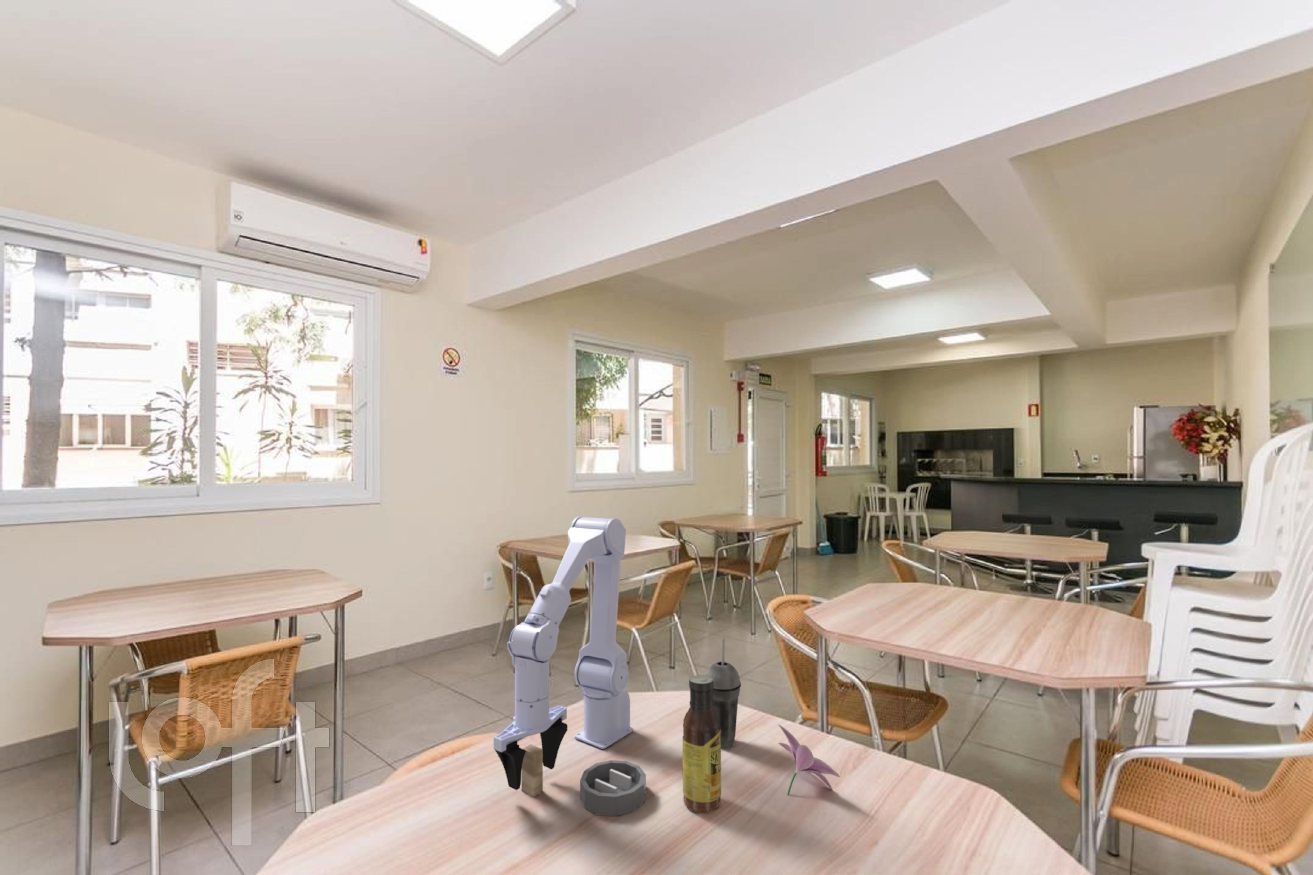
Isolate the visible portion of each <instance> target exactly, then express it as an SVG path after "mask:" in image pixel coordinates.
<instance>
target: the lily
mask: <svg viewBox="0 0 1313 875" xmlns="http://www.w3.org/2000/svg"><path fill="white" fill-rule="evenodd" d="M778 727H779V728H780V729H781V731H782V732H783V734H784V735H785V737H786V738H787V741H788V744H787V743H784V742H778V744H779V745H780V746H781V747H783V748H784V749H785V750H786V751H788V752H789V753H790V754H792V756H793V759H794V763H795V772H794V773H793V775H792V778H791V781H790V784H789V788H788V791H787V796H789V795H790V793H791V789H792V787H793V782H794V780H795V778H796V776H797V774H798V773H799V772H805V773H806V772H807V773H811V774H814V775H815V776H817V777H818V778H819V779H820V780H821V781H822V782H823V783H824V784H826V786H827V787H828V788H829V789H830V790H831V791H833V788H832V785H831V783H830V782H829V780H828V779H827V777H826V776H825V775H832V776H834V777H835V776H836V777H837V778H841V776H840V775H839V773H838V772H836V770H835V769H834V768H832V767H831V766H830V765H829V764H827V763H826V761H825V762H824V761H823V760H821V759H820V758H817V757H815V756H814V755H813V752H812V751H811V749H810V748H809V747H808V746H807V745H805V744H800V743H799V740H798V739H797V738H796V737H795V736H794V735H793V734H792V733H791V732H789V731H788V729H786V728H785V727H784V726H782V725H781V724H778Z"/></svg>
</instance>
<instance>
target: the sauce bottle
mask: <svg viewBox="0 0 1313 875" xmlns="http://www.w3.org/2000/svg"><path fill="white" fill-rule="evenodd" d="M688 688H689V697H690V698H689V699H690V700H689V708H688V710H687V712H686V713H685V715H684V718H683V723H682V729H683V730H682V732H683V736H682V793H683V794H682V795H683V803H684V805H685V806H686V808H688V810H691V811H693V812H695V813H696V812H697V813H704V814H705V813H709V812H712V811H715V810H716V809H717V808H718V807H719V806H720V803H721V795H722V749H721V728H720V725H719V722H718V719H717V716H716V714H715V711H714V707H713V688H714V684H713V679H712V678H711V677H709V676H706V674H698V675H697V674H696V675H692V676H691V677H689V680H688Z"/></svg>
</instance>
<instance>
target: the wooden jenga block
mask: <svg viewBox="0 0 1313 875" xmlns="http://www.w3.org/2000/svg"><path fill="white" fill-rule="evenodd" d="M521 749H524V750H526V753H525V755H524V759H523V763H522V769H521V791H522V792H523V793H525V794H527V795H529V796H531V797H533V798H534V797H536V796H537V795H540V793H542V792H543V790H544V786H543V783H544V782H543V781H544V780H543V779H544V778H543V777H544V776H543V774H544V766H543V749H542V747H541V748H540V747H538V746H536V745H534V744H528V745H526V746H525V747H521Z"/></svg>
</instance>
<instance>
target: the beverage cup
mask: <svg viewBox="0 0 1313 875" xmlns="http://www.w3.org/2000/svg"><path fill="white" fill-rule="evenodd" d="M725 640H726V639H725V638H724V637H722V638H721V661H717V662H714V663H713V664H712V665H711V666H710V667H709V668H708V669H707V671H706V673H705V675H706V676H709V677H711V678H712V679H713V684H714V688H713V707H714V711H715V714H716V716H717V719H718V722H719V725H720V728H721V750H722V749H723V750H725V749H731V748H732V747H734V746H735V741H736V740H735V739H736V733H737V732H736V731H737V719H738V706H739V705H738V704H739V696H740V694H741V693H740V692H741V687H742V683H741V678H740V675H739V672H738V671H737V669H736V668H735V666H734V665H732V664H731V663H729V662H726V661H725Z"/></svg>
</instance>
